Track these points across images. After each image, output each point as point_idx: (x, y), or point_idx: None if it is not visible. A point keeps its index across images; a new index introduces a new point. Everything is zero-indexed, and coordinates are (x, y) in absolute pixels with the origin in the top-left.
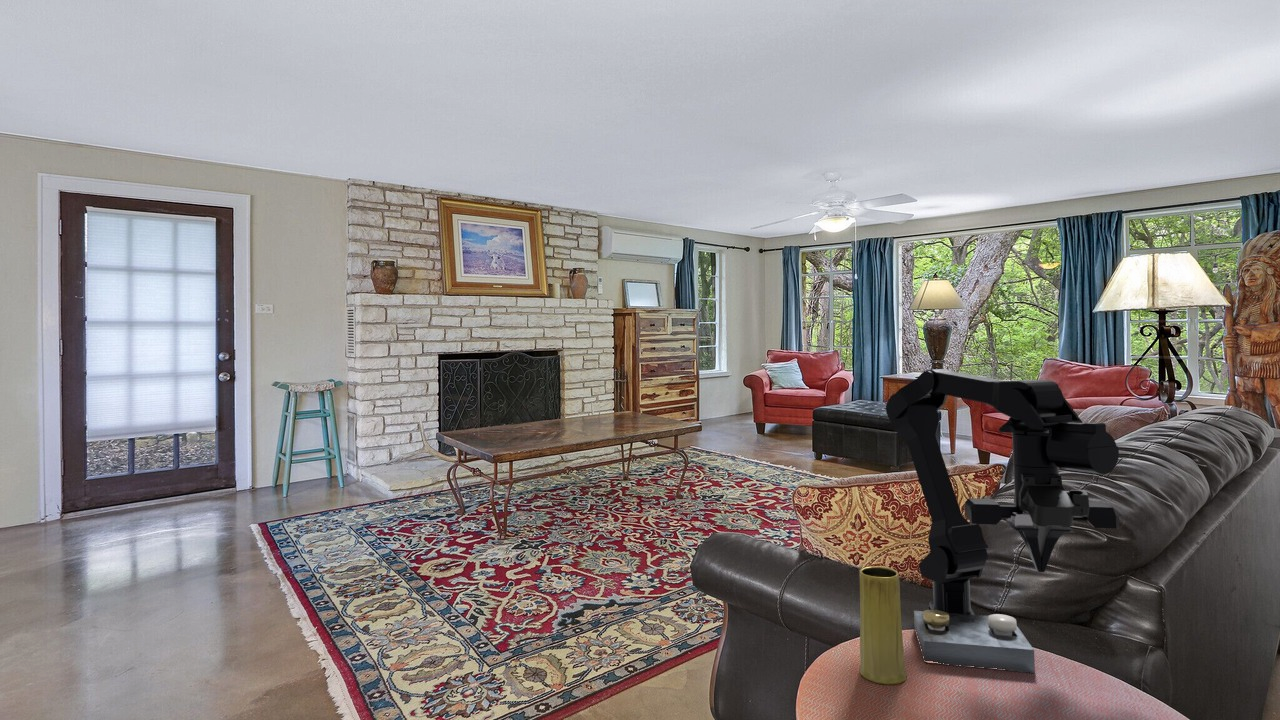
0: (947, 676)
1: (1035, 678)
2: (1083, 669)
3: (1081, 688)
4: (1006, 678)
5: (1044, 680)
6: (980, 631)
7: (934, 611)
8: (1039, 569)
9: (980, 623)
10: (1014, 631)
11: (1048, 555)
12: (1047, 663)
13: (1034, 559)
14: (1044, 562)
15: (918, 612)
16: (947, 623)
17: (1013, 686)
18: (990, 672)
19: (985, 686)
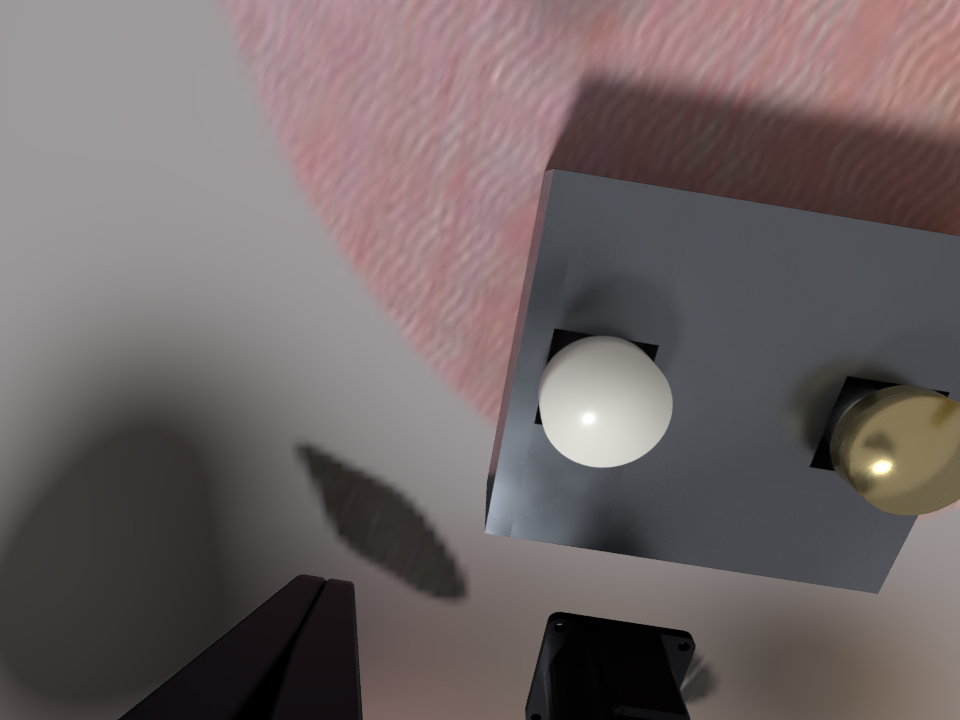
0: (929, 115)
1: (564, 124)
2: (339, 224)
3: (421, 38)
4: (684, 114)
5: (536, 107)
6: (700, 378)
7: (909, 492)
8: (337, 593)
9: (652, 466)
10: None
11: (157, 712)
12: (452, 271)
13: (356, 685)
14: (258, 640)
15: (868, 575)
16: (868, 403)
17: (694, 33)
18: (721, 170)
19: (816, 22)
